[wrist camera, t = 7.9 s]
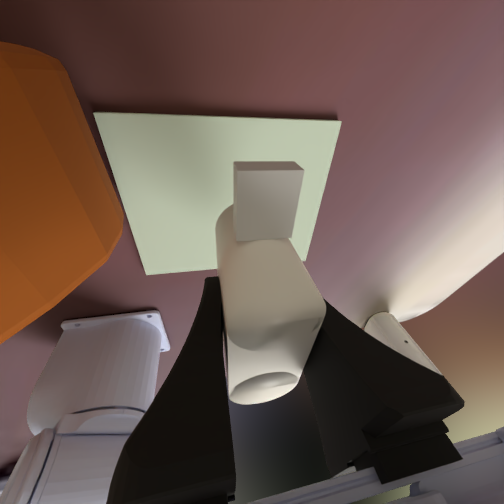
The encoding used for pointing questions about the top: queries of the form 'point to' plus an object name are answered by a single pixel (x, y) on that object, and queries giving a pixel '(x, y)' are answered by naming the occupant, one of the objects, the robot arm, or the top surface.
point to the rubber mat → (205, 177)
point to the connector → (264, 283)
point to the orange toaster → (47, 190)
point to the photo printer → (397, 338)
